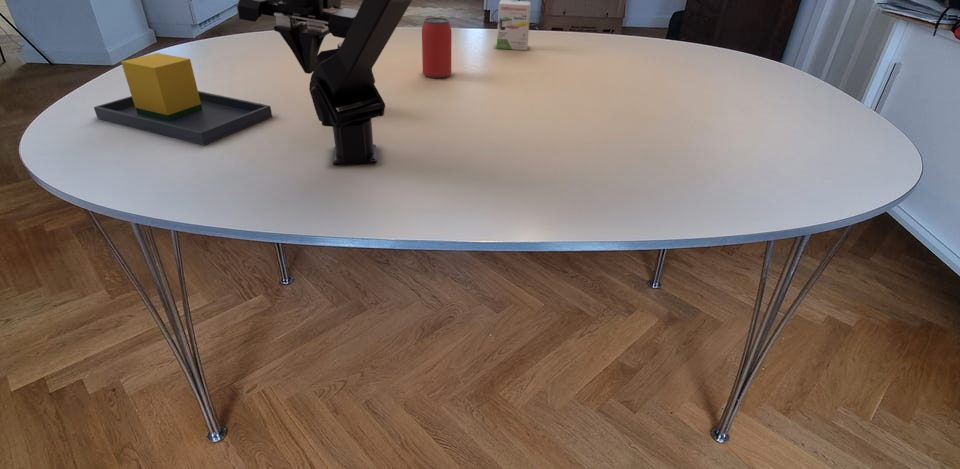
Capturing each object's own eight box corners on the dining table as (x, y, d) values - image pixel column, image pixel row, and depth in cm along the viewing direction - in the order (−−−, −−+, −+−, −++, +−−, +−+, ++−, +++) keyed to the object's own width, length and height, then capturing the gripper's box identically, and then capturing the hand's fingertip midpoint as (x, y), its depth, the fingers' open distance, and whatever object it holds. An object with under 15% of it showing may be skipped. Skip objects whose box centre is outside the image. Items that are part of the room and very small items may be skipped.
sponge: (202, 109, 98) (190, 58, 94) (169, 121, 93) (154, 67, 88) (171, 102, 101) (157, 52, 96) (136, 113, 96) (120, 61, 91)
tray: (272, 117, 98) (270, 105, 97) (204, 145, 86) (201, 132, 85) (172, 95, 106) (169, 84, 105) (97, 118, 94) (93, 107, 93)
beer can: (436, 69, 129) (435, 15, 122) (457, 75, 125) (457, 20, 119) (416, 74, 124) (415, 19, 118) (437, 80, 121) (437, 23, 114)
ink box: (496, 48, 149) (498, 2, 143) (497, 44, 153) (499, -1, 147) (527, 50, 148) (530, 4, 142) (527, 46, 152) (531, 1, 146)
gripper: (384, -35, 81) (385, 68, 90) (271, -54, 84) (282, 48, 93) (351, -24, 72) (355, 90, 81) (226, -44, 75) (243, 67, 84)
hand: (308, 72), depth 85 cm, fingers closed
